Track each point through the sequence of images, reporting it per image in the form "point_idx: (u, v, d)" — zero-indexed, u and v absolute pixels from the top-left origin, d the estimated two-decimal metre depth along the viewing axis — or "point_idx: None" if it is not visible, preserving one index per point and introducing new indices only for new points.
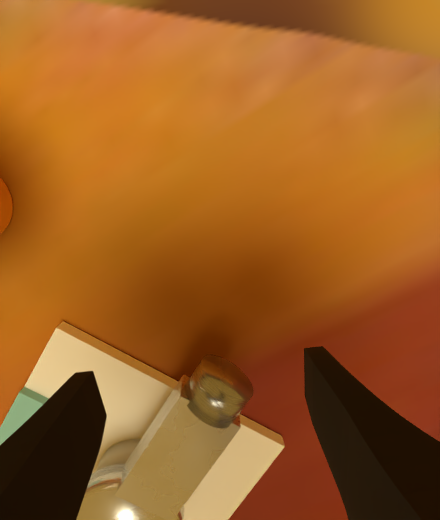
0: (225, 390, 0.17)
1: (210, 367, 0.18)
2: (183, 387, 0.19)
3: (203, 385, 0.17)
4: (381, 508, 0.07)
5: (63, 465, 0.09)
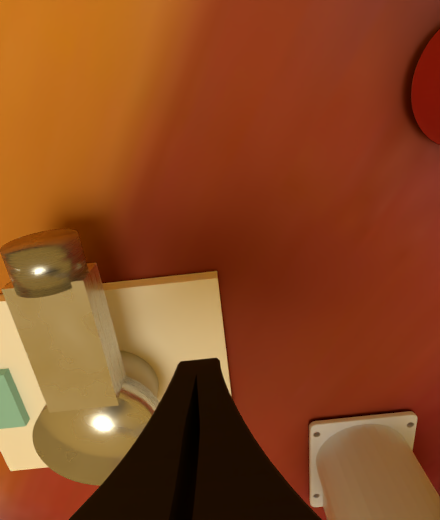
0: (21, 252, 0.14)
1: (15, 244, 0.15)
2: None
3: (5, 263, 0.15)
4: None
5: (193, 451, 0.09)
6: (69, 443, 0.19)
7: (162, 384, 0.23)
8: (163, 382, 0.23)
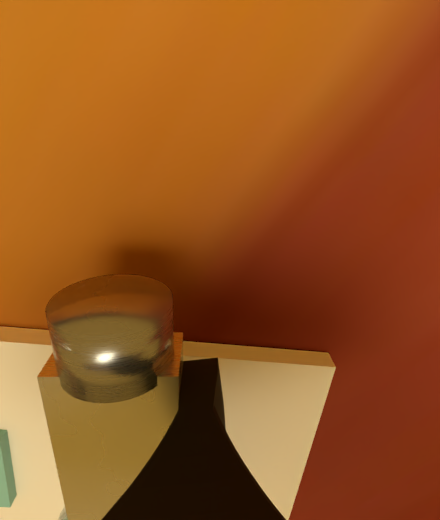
0: (89, 330, 0.08)
1: (69, 301, 0.09)
2: (53, 356, 0.10)
3: (54, 340, 0.08)
4: None
5: None
6: None
7: None
8: None
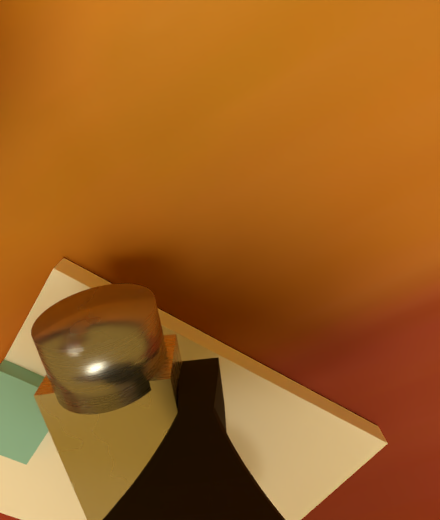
0: (70, 343, 0.08)
1: (54, 318, 0.09)
2: None
3: (41, 358, 0.09)
4: None
5: None
6: None
7: None
8: None
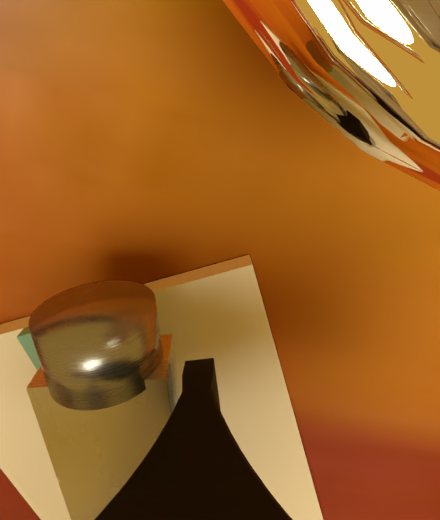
0: (69, 338, 0.08)
1: (52, 311, 0.09)
2: None
3: (38, 351, 0.09)
4: None
5: None
6: None
7: None
8: None
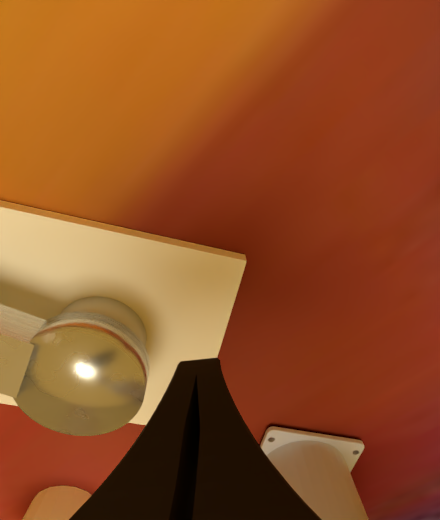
0: None
1: None
2: None
3: None
4: None
5: (193, 451, 0.09)
6: (65, 406, 0.18)
7: (148, 349, 0.23)
8: (150, 347, 0.23)
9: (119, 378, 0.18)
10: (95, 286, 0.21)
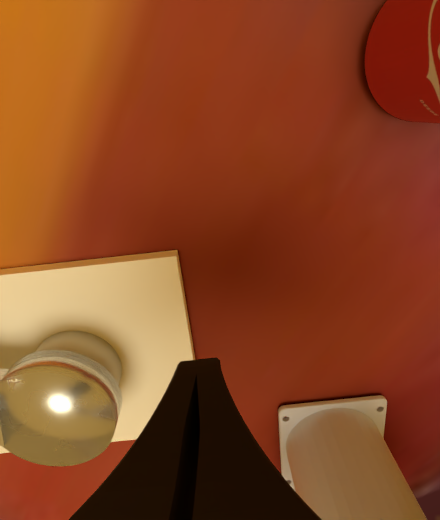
0: None
1: None
2: None
3: None
4: None
5: (193, 451, 0.09)
6: (49, 441, 0.19)
7: (125, 366, 0.23)
8: (127, 364, 0.23)
9: (82, 404, 0.19)
10: (52, 323, 0.22)
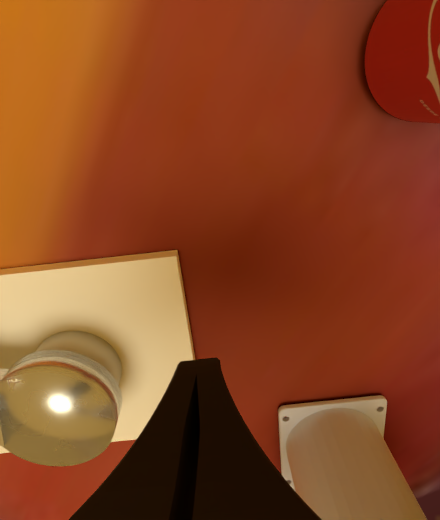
0: None
1: None
2: None
3: None
4: None
5: (193, 451, 0.09)
6: (49, 441, 0.19)
7: (125, 366, 0.23)
8: (127, 364, 0.23)
9: (82, 404, 0.19)
10: (52, 323, 0.22)
